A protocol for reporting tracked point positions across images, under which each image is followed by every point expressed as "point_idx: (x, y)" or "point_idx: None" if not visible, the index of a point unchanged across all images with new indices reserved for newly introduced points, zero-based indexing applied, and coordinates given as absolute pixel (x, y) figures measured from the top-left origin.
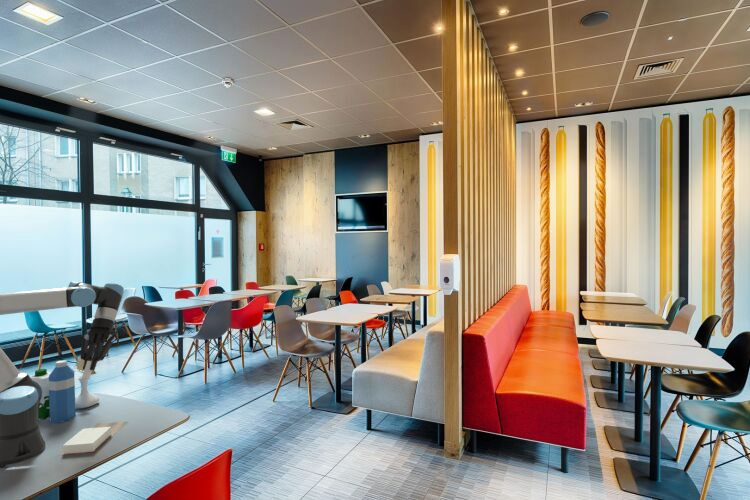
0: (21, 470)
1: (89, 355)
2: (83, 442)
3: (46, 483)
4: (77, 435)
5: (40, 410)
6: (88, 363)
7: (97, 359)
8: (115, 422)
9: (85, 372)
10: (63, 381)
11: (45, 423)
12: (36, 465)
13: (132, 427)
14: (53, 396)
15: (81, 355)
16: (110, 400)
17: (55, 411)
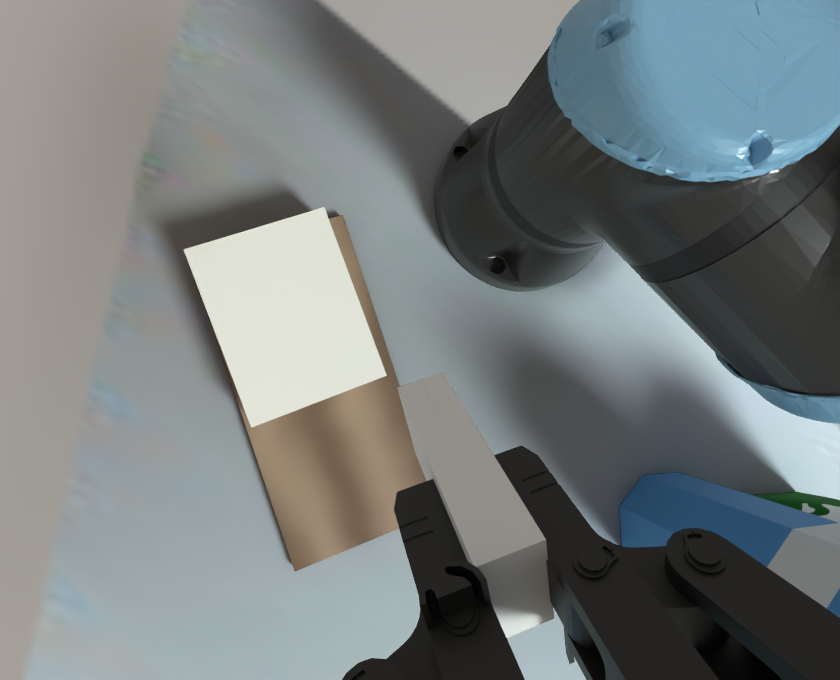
0: (394, 114)
1: (612, 661)
2: (244, 248)
3: (193, 40)
4: (346, 306)
5: (785, 501)
6: (489, 514)
7: (404, 665)
8: (357, 542)
9: (441, 418)
10: (827, 588)
11: (690, 462)
12: (371, 152)
13: (233, 534)
14: (773, 513)
15: (766, 585)
16: None
17: (691, 489)
